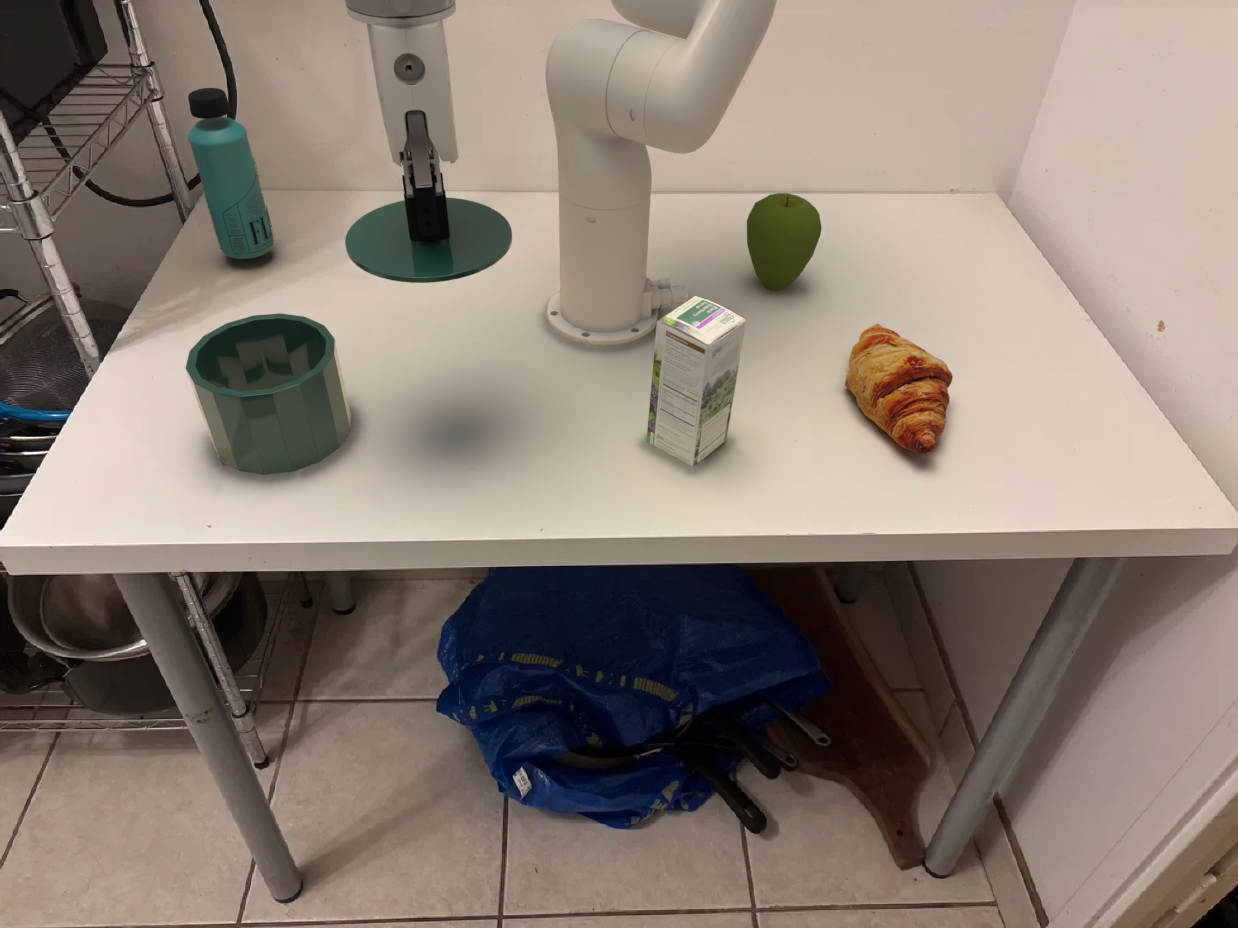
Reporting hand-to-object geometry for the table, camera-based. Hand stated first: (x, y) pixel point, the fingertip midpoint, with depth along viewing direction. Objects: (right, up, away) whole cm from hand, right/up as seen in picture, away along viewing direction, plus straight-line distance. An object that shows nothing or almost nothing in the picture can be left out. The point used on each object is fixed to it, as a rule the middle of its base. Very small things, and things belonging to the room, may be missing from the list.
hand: (428, 227), depth 76 cm
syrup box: (+22, -18, +14) cm, 32 cm away
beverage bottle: (-29, +6, +37) cm, 48 cm away
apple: (+34, +2, +36) cm, 50 cm away
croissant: (+44, -13, +20) cm, 50 cm away
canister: (-17, -16, +13) cm, 27 cm away
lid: (0, -1, +1) cm, 1 cm away
